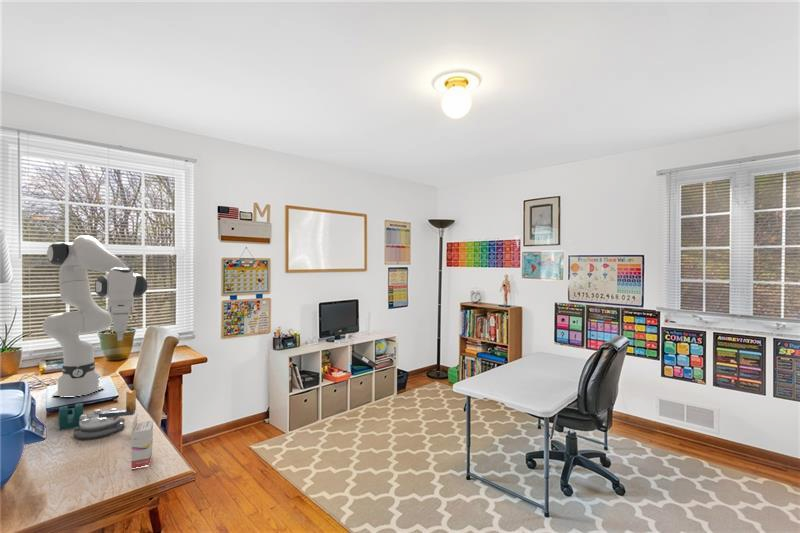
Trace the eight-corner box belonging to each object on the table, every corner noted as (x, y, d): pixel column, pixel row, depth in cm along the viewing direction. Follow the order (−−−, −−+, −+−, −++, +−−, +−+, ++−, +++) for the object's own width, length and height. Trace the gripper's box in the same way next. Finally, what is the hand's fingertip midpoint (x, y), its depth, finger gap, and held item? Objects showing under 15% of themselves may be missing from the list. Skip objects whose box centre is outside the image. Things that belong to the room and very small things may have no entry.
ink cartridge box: (150, 467, 120) (150, 420, 120) (130, 470, 117) (131, 423, 117) (153, 454, 127) (153, 410, 127) (135, 457, 125) (135, 413, 125)
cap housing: (75, 428, 145) (75, 422, 145) (124, 419, 154) (124, 413, 154) (71, 444, 133) (71, 437, 133) (124, 433, 142) (124, 427, 142)
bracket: (83, 425, 148) (83, 405, 148) (59, 431, 143) (60, 410, 143) (79, 411, 161) (79, 393, 161) (58, 416, 157) (58, 396, 156)
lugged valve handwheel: (72, 433, 136) (72, 400, 136) (89, 419, 148) (89, 389, 148) (129, 428, 141) (129, 396, 141) (141, 415, 153) (141, 386, 152)
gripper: (111, 304, 165) (110, 336, 165) (110, 309, 149) (110, 345, 149) (129, 304, 169) (128, 335, 169) (130, 309, 152) (129, 343, 152)
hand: (120, 340), depth 159 cm, fingers closed
